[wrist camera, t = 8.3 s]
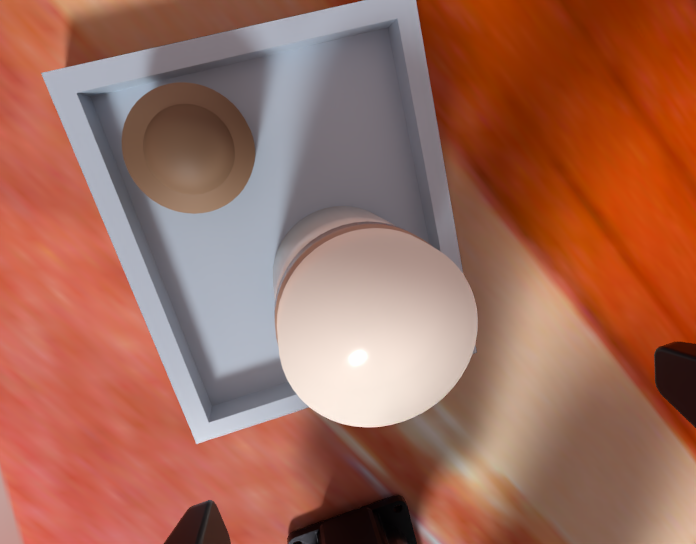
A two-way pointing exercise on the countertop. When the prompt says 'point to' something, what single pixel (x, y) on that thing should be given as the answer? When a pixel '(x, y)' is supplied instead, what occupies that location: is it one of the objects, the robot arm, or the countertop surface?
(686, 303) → the countertop surface
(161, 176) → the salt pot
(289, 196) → the tray
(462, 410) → the countertop surface
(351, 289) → the cream lidded jar
